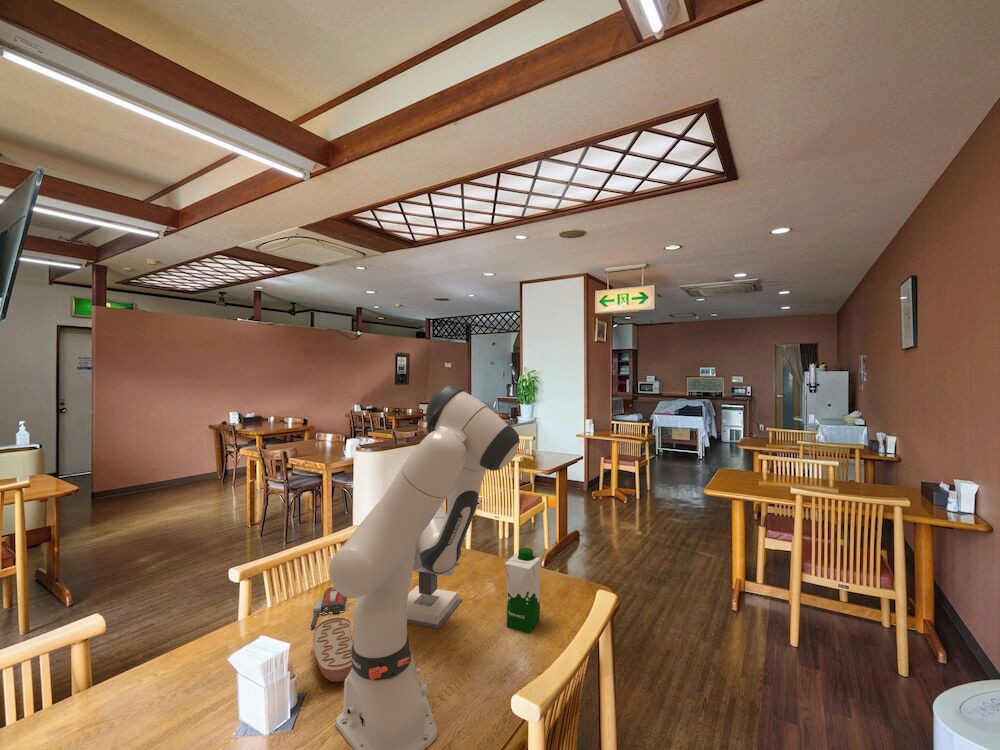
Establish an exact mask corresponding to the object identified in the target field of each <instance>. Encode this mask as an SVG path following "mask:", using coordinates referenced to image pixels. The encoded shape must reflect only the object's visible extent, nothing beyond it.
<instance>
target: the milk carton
mask: <svg viewBox="0 0 1000 750" xmlns="http://www.w3.org/2000/svg"><path fill="white" fill-rule="evenodd" d="M504 567H505V571H506V627H507V628H511V629H514V630H517V631H521V632H524V633H528V634H530V633H531V631H533V629H534V628H535V627H536V625H537V624H538V623H539V621H540V613H541V612H540V611H541V601H540V600H541V599H540V598H541V596H540V595H541V592H540V591H541V590H540V589H541V588H540V587H541V586H540V585H541V582H540V581H541V580H540V578H541V577H540V576H541V574H540V573H541V557H537V556H534V552H533V549H532V548H531V547H521V548H520V549H519V550H518V553H515V554H514V555H513V556H511V557H510V558H509V559H507V561H506V562H504Z"/></svg>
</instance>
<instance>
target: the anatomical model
mask: <svg viewBox="0 0 1000 750" xmlns="http://www.w3.org/2000/svg"><path fill="white" fill-rule="evenodd" d="M352 633H353V632H352V621H351V620H350V619H348V618H347V617H346V618H345V617H331V618H328V619H325V620H323V621H321V622H319V624H317V625H315V627H314V631H313V638H312V648H313V649H312V650H313V655H314V657H315V661H316V663H317V665H318V668H319V669H320V672H321V674H322V675H323V676H324V677H325V678H326V679H327V680H328V681H330V682H334V683H335V682H336V683H339V682H345V679H346V677H347V676H348V674H349V673H350V671H351V669H352V664H351V651H352V644H353V634H352Z"/></svg>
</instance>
